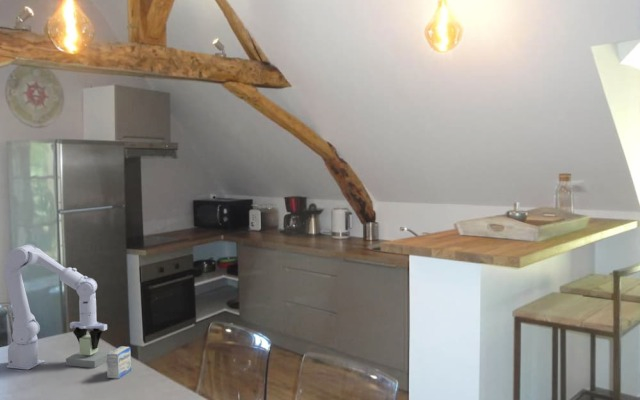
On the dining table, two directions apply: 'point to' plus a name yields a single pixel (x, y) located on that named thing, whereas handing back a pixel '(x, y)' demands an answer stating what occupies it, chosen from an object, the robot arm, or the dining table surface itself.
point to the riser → (87, 359)
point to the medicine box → (118, 362)
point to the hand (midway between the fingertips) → (89, 348)
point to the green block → (86, 345)
